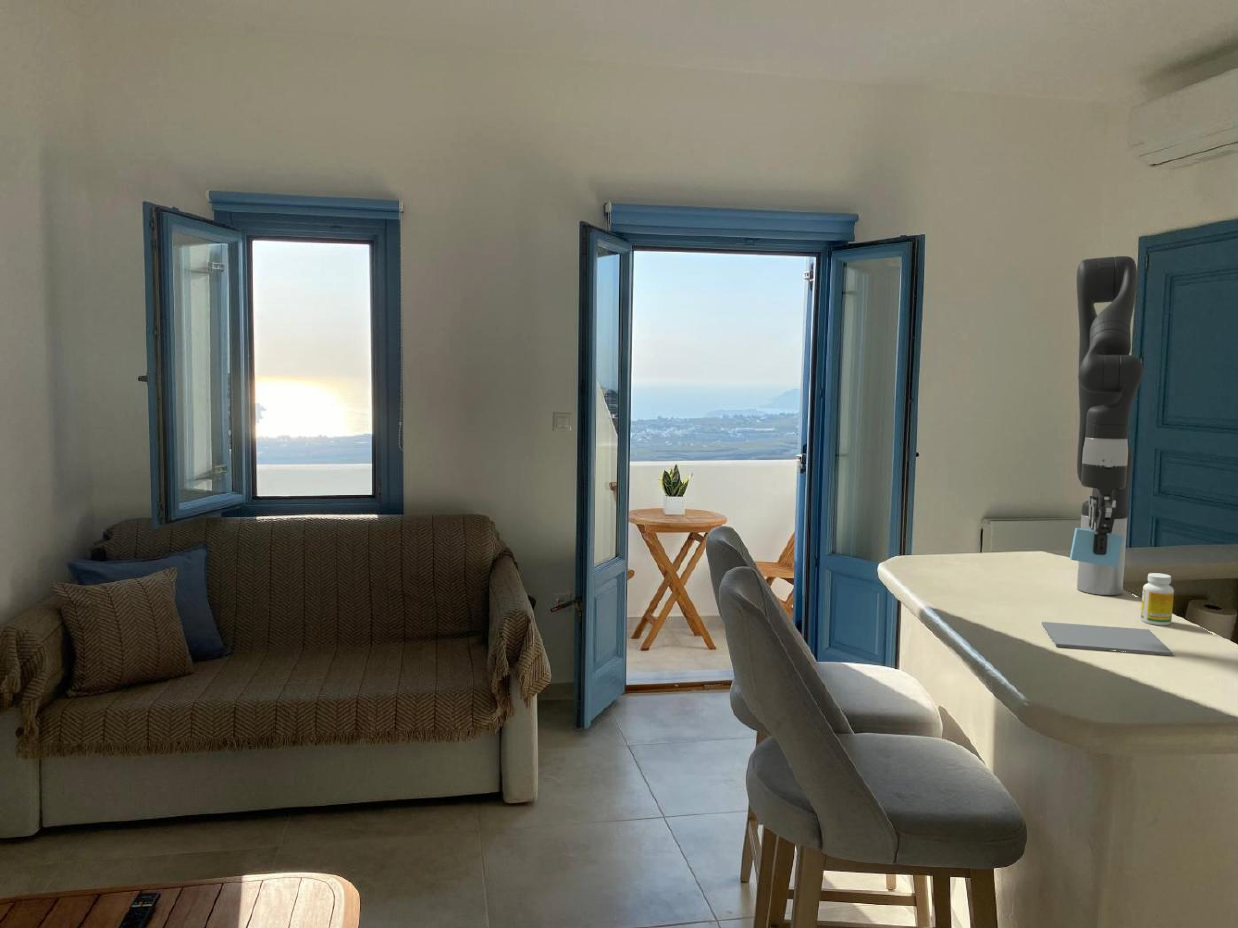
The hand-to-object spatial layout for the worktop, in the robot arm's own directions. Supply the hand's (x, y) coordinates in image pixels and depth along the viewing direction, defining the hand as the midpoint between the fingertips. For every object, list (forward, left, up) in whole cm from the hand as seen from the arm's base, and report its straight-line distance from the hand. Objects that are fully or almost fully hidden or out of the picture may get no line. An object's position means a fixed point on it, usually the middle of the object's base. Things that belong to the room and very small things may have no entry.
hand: (1098, 553), depth 178 cm
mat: (+3, +1, -16) cm, 16 cm away
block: (0, -1, -2) cm, 2 cm away
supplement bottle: (-13, +14, -16) cm, 25 cm away
